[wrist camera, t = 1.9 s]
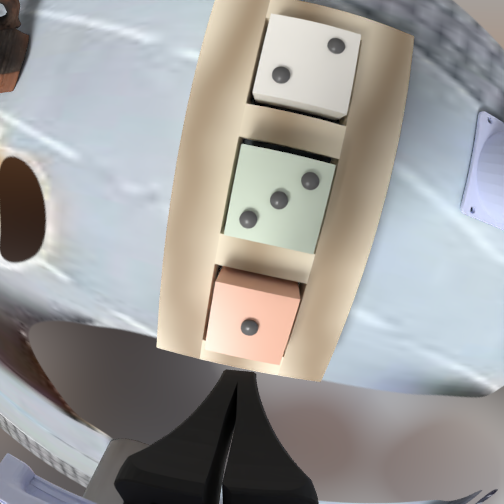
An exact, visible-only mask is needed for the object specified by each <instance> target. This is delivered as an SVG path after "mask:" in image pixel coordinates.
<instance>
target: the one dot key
mask: <svg viewBox="0 0 504 504" xmlns="http://www.w3.org/2000/svg"><path fill="white" fill-rule="evenodd" d="M299 302H300V294H299V287H298V282H296V281H291V280H287V279H282V278H277V277H272V276H268V275H263V274H258V273H254V272H249V271H245V270H240V269H236V268H231V267H227V266H222V268H221V271H220V273H219V275H218V277H217V279H216V282H215V287H214V293H213V299H212V305H211V311H210V317H209V324H208V330H207V336H206V342H205V350H209V351H213V352H217V353H222V354H226V355H231V356H235V357H240V358H245V359H249V360H254V361H260V362H265V363H270V364H275V365H280V362H281V359H282V356H283V353H284V350H285V347H286V344H287V341H288V338H289V335H290V332H291V328H292V325H293V322H294V319H295V316H296V312H297V309H298V306H299Z"/></svg>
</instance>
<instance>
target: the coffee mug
mask: <svg viewBox="0 0 504 504" xmlns="http://www.w3.org/2000/svg"><path fill="white" fill-rule="evenodd" d="M148 446H150V445H148V444H145V443H142V442H139V441H135V440H130V439H115V440H113V441H111V442H110V443H109V445H108V447H107V449H106V451H105V453H104V455H103V457H102V459H101V461H100V463H99V465H98V467H97V469H96V470H95V472H94V474H93V476H92V478H91V480H90V482H89V484H88V487H87V489H86V491H85V493H84V495H83V498H85V499H87V500H90V501H92V502H95V503H97V504H123V502H124V501H123V499H122V498H121V496H120V495H119V493H118V492H117V490H116V488H115V486H114V481H115V479H116V476H117V474H118V472H119V470H120V468H121V466H122V465H123V463H124V462H125V460H126V459H127V457H128V456H130V455H132V454H134V453H136V452H138V451H140V450H142V449H145V448H147V447H148Z"/></svg>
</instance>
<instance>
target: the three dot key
mask: <svg viewBox="0 0 504 504" xmlns="http://www.w3.org/2000/svg"><path fill="white" fill-rule="evenodd" d="M335 167H336V165H334V164H330V163H326V162H322V161H318V160H314V159H310V158H306V157H302V156H298V155H293V154H289V153H285V152H280V151H276V150H271V149H266V148H261V147H256V146H251V145H246V144H241V149H240V154H239V159H238V164H237V169H236V174H235V179H234V184H233V189H232V194H231V199H230V204H229V210H228V215H227V220H226V226H225V231H224V235H226V236H231V237H236V238H240V239H245V240H250V241H254V242H259V243H263V244H268V245H273V246H277V247H282V248H286V249H291V250H295V251H300V252H304V253H309V254H314V250H315V246H316V243H317V239H318V235H319V232H320V228H321V224H322V220H323V216H324V212H325V208H326V204H327V200H328V196H329V192H330V188H331V184H332V180H333V176H334V171H335Z"/></svg>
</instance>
